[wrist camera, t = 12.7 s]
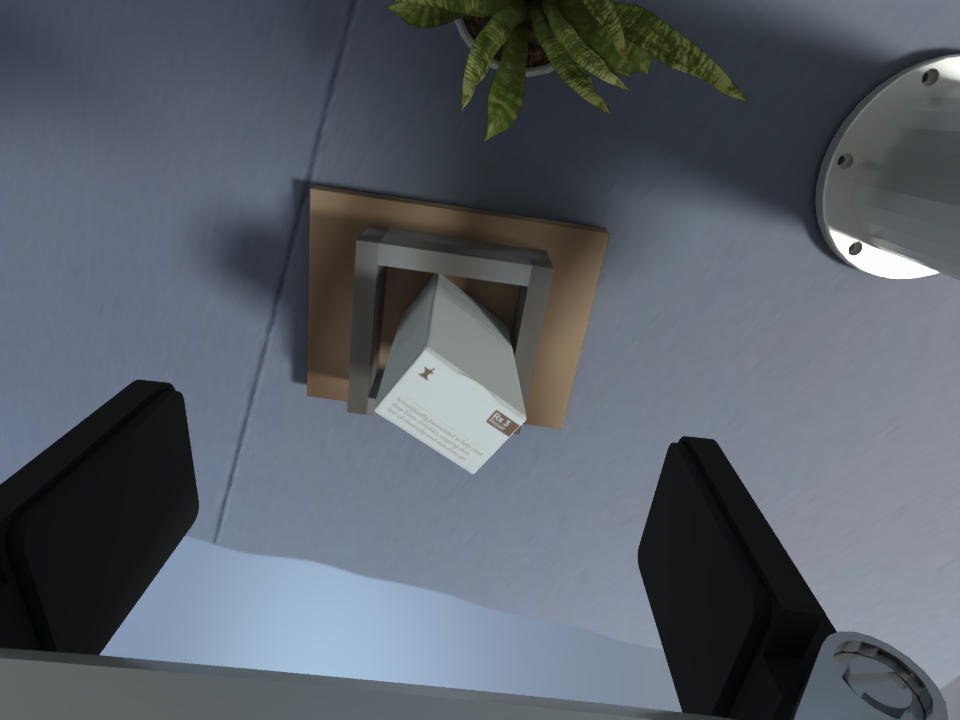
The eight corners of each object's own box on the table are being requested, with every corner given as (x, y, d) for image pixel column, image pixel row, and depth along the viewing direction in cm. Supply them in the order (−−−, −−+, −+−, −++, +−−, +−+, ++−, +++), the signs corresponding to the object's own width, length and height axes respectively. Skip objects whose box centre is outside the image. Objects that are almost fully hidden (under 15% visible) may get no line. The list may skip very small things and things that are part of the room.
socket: (604, 228, 35) (625, 249, 30) (559, 418, 41) (569, 462, 36) (317, 185, 34) (288, 199, 29) (312, 385, 40) (288, 426, 35)
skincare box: (398, 318, 36) (360, 414, 25) (439, 265, 34) (419, 342, 24) (472, 371, 38) (468, 483, 27) (515, 323, 36) (529, 421, 25)
